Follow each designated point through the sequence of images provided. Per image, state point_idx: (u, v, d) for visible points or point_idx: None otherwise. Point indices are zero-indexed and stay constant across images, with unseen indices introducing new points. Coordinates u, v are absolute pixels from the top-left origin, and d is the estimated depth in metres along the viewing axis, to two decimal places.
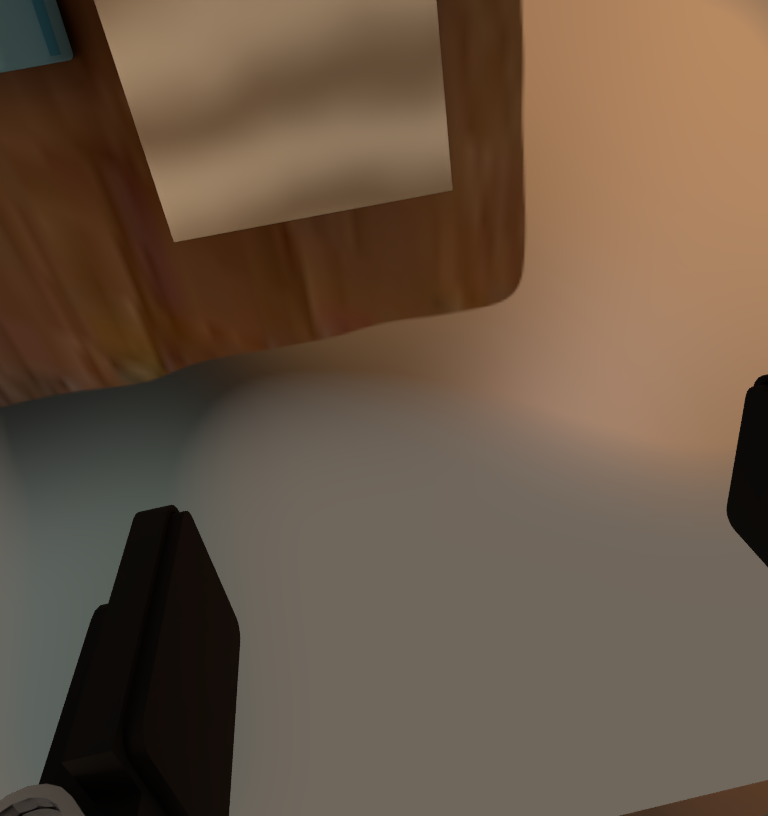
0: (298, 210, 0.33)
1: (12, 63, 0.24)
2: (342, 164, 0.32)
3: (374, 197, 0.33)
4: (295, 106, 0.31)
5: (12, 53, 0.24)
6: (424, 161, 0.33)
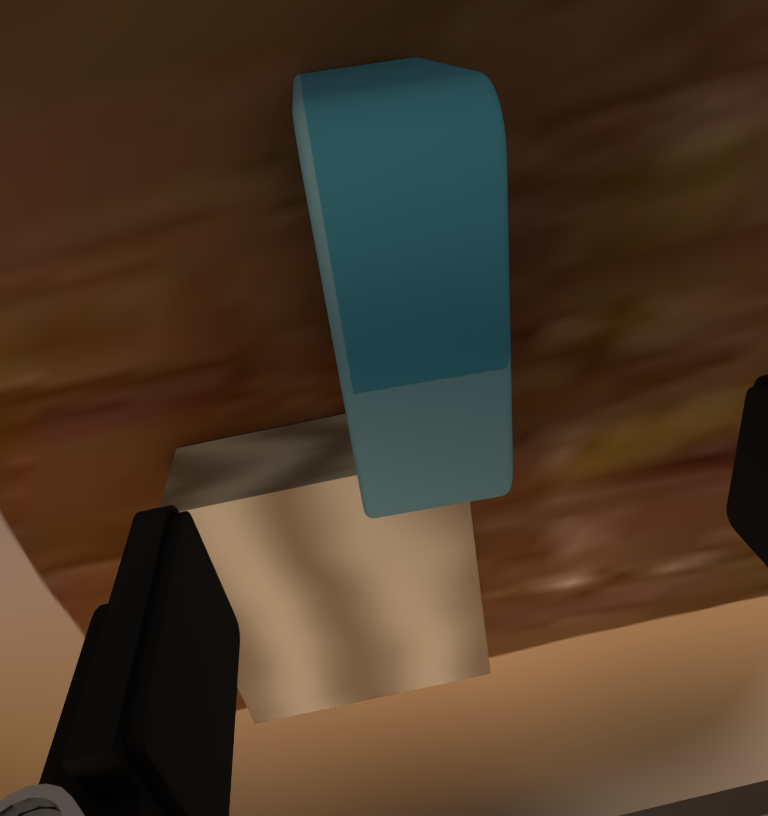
0: None
1: None
2: (270, 649, 0.31)
3: (239, 674, 0.32)
4: (322, 613, 0.30)
5: None
6: (280, 702, 0.33)
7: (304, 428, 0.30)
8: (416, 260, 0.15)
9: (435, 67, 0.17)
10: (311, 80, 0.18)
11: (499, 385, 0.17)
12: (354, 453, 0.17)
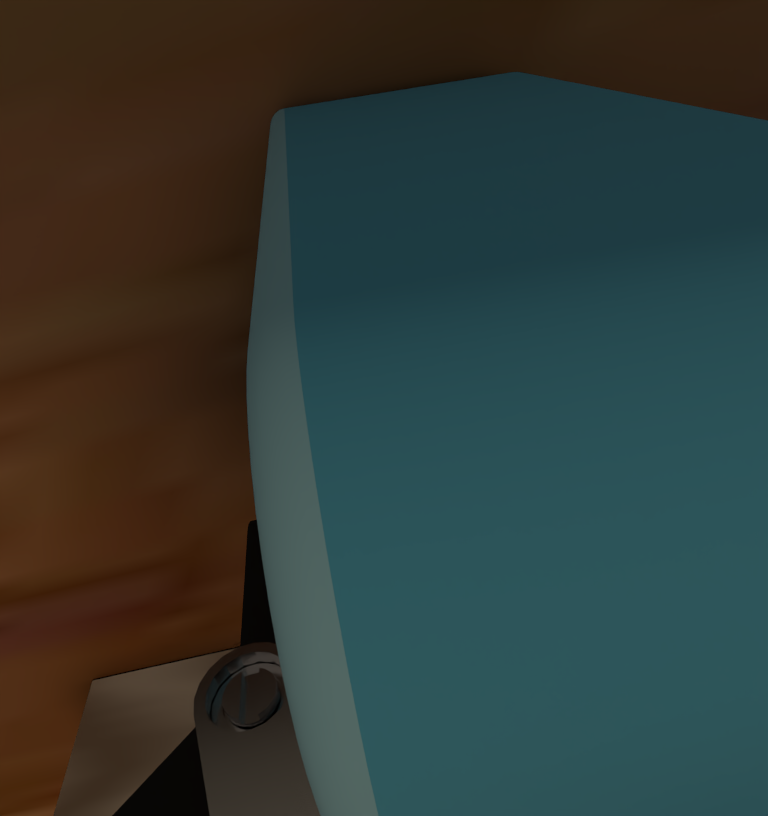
0: None
1: None
2: None
3: None
4: None
5: None
6: None
7: None
8: None
9: (676, 118, 0.06)
10: (311, 142, 0.07)
11: None
12: None
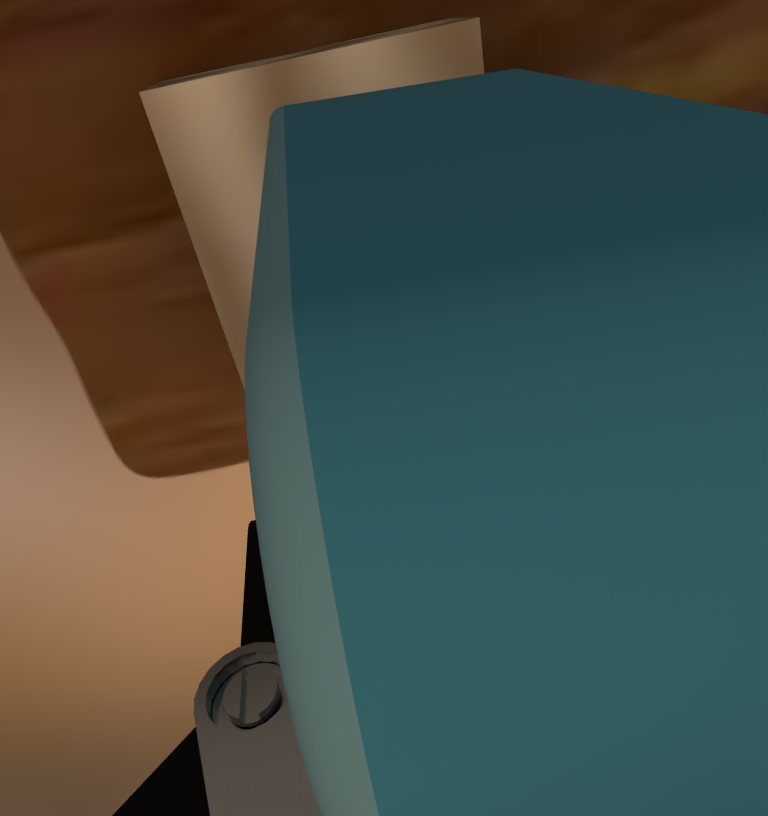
0: (209, 262, 0.27)
1: None
2: None
3: (237, 346, 0.29)
4: None
5: None
6: None
7: (300, 51, 0.27)
8: None
9: (676, 112, 0.06)
10: (310, 138, 0.07)
11: None
12: None
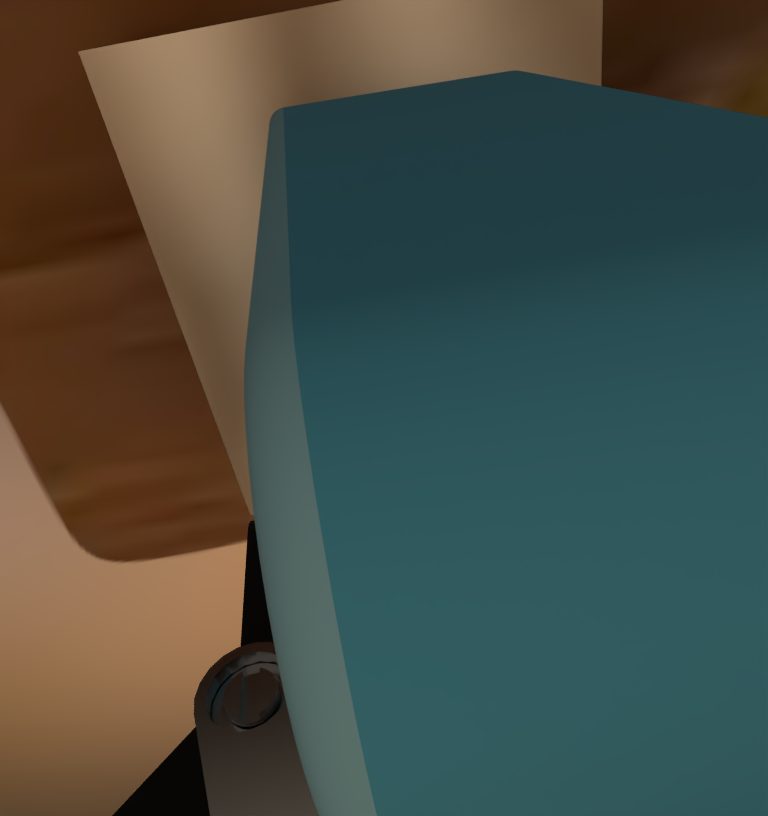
0: (188, 305, 0.19)
1: None
2: None
3: (226, 418, 0.21)
4: None
5: None
6: None
7: None
8: None
9: (675, 115, 0.06)
10: (310, 140, 0.07)
11: None
12: None
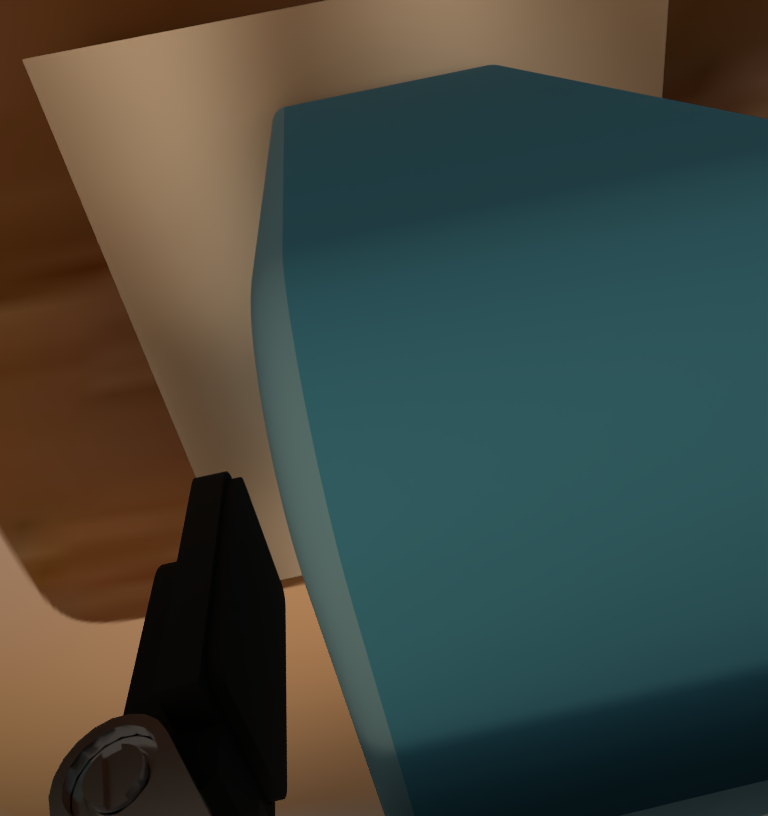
0: (165, 359, 0.16)
1: None
2: None
3: None
4: None
5: None
6: (285, 546, 0.19)
7: None
8: (646, 705, 0.05)
9: (605, 101, 0.07)
10: (305, 135, 0.08)
11: None
12: None
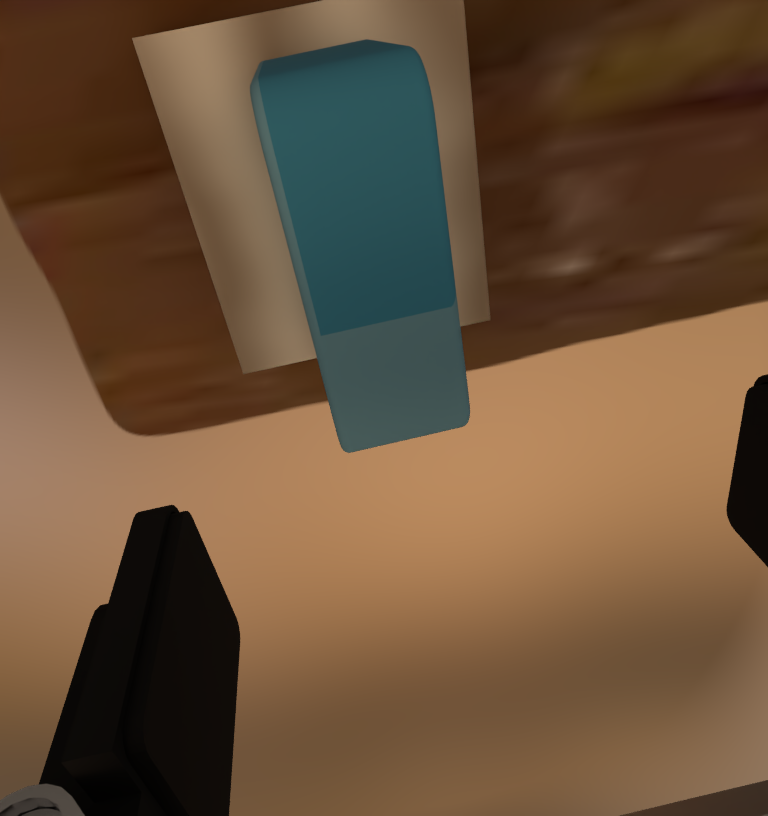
0: (199, 210, 0.28)
1: None
2: (258, 261, 0.29)
3: (226, 296, 0.30)
4: None
5: None
6: (269, 343, 0.32)
7: None
8: (364, 212, 0.17)
9: (376, 45, 0.19)
10: (270, 64, 0.20)
11: (448, 322, 0.19)
12: (326, 391, 0.20)
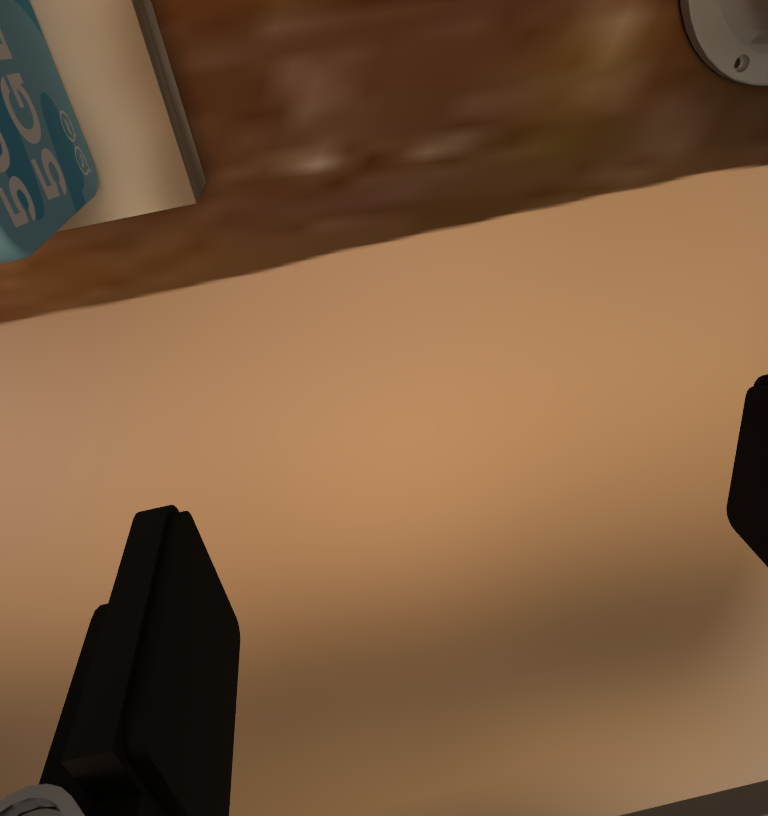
0: None
1: None
2: None
3: None
4: None
5: None
6: None
7: None
8: None
9: None
10: None
11: None
12: None
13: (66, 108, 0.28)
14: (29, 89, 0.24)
